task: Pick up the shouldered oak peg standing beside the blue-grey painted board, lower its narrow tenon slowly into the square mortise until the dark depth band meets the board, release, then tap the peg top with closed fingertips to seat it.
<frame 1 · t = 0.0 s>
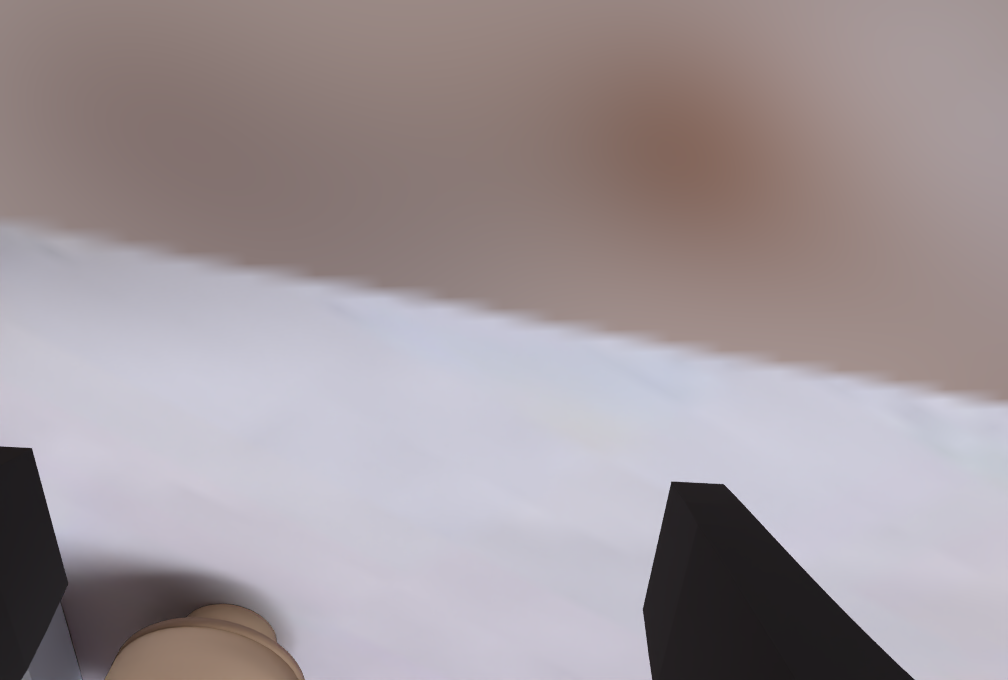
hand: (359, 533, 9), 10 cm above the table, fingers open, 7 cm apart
oak peg: (229, 637, 24), on the table
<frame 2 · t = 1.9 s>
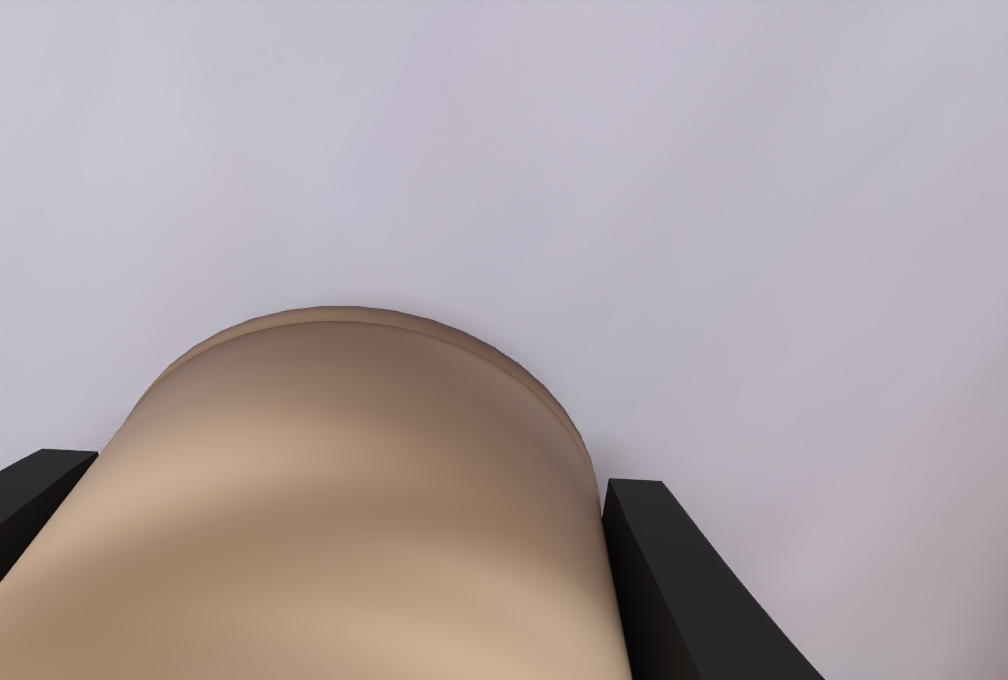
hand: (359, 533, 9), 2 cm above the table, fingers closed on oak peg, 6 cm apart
oak peg: (381, 437, 10), on the table, touching gripper
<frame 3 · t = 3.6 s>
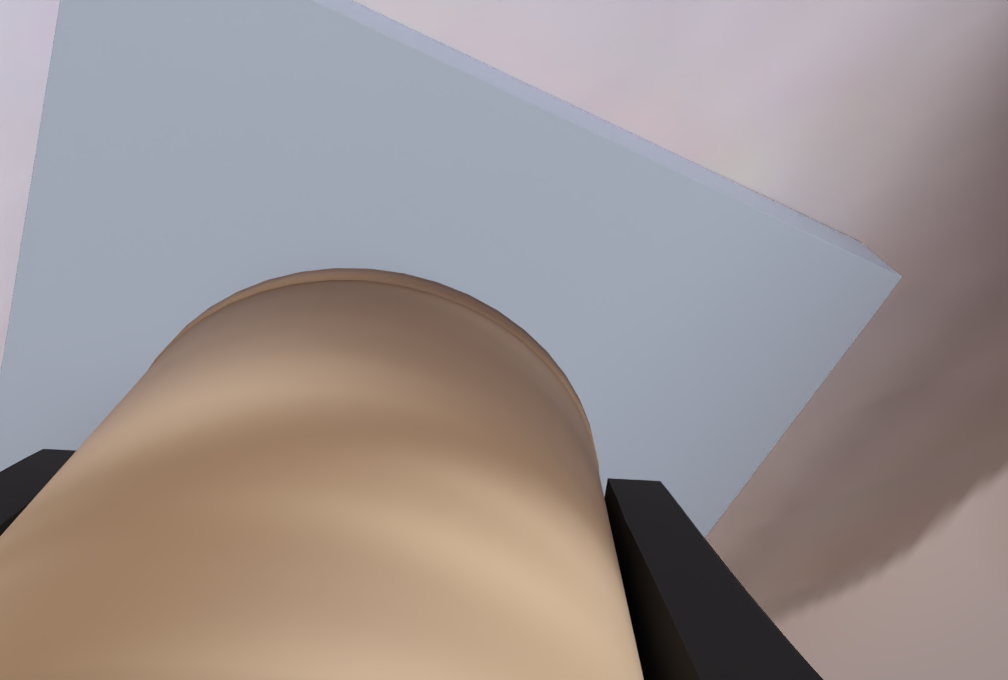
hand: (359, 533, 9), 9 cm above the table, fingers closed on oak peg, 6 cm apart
oak peg: (385, 412, 11), point 7 cm above the table, touching gripper
mortise board: (395, 395, 18), on the table
when the fingers open (3 cm above the table, at t = 5.5 s): oak peg stays where it is, resting on mortise board.
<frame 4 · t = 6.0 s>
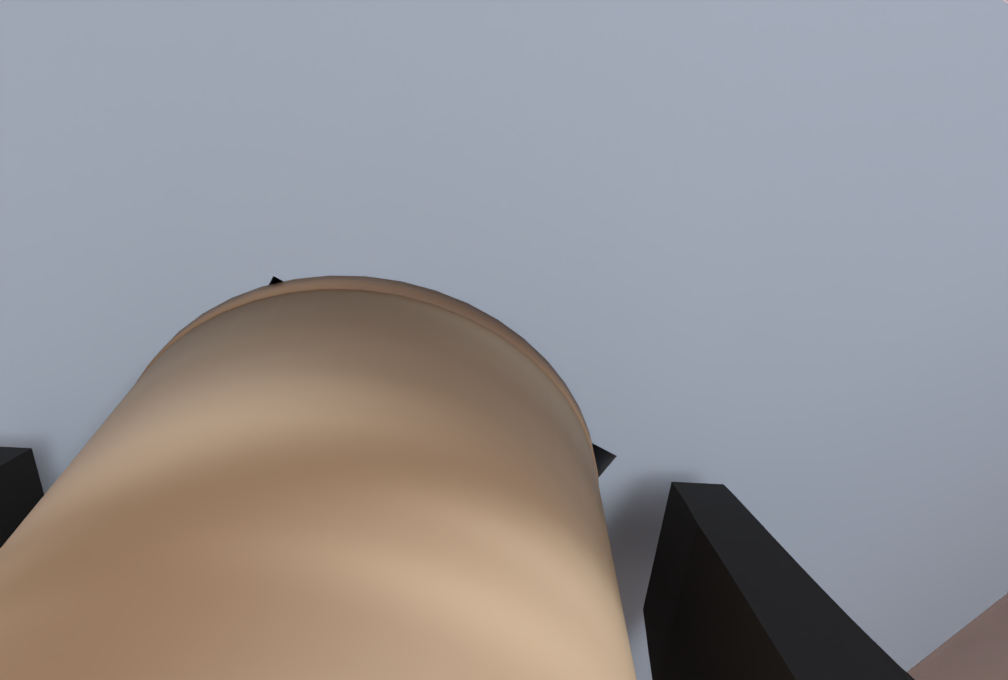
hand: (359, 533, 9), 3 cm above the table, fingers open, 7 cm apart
oak peg: (382, 412, 11), resting on mortise board
mortise board: (386, 414, 11), on the table
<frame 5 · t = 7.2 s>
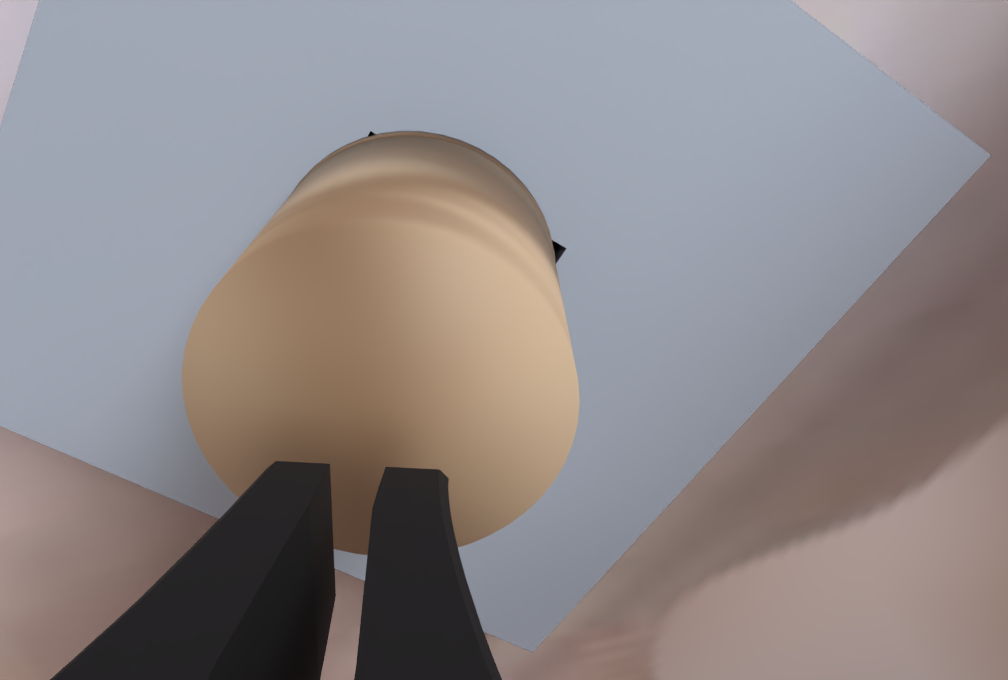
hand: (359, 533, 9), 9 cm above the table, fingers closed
oak peg: (423, 242, 17), resting on mortise board
mortise board: (425, 246, 17), on the table
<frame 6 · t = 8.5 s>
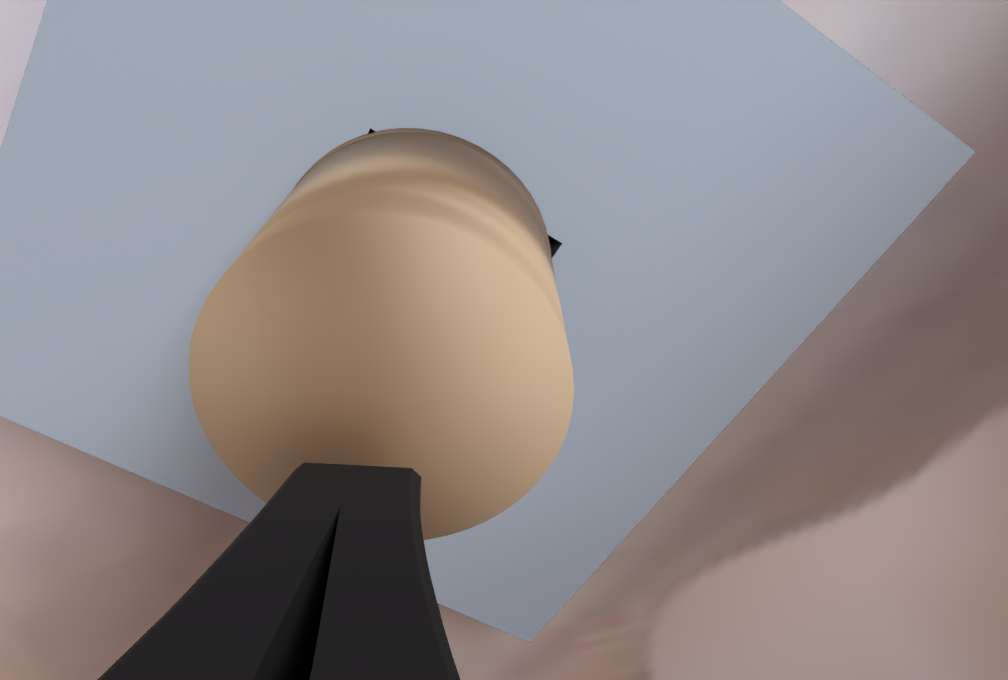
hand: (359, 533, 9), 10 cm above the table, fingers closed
oak peg: (421, 238, 17), resting on mortise board
mortise board: (423, 242, 17), on the table
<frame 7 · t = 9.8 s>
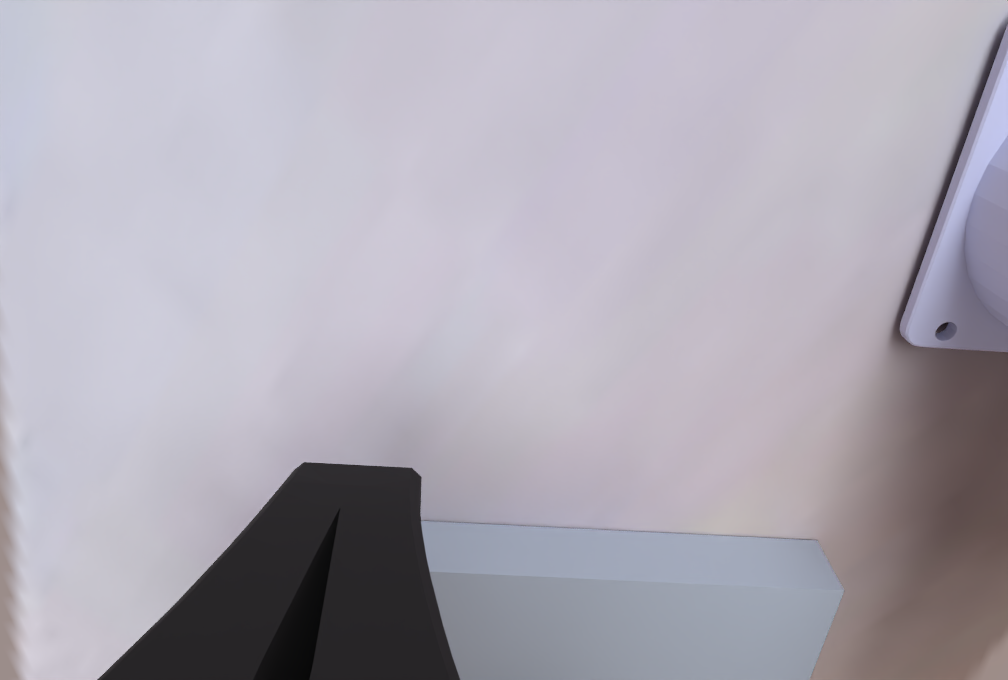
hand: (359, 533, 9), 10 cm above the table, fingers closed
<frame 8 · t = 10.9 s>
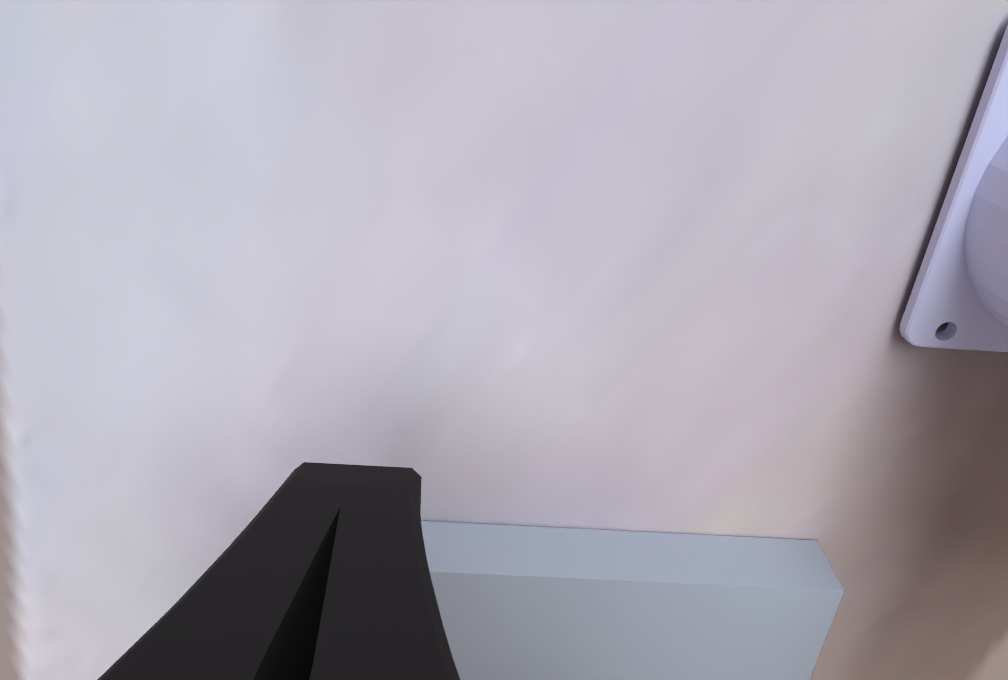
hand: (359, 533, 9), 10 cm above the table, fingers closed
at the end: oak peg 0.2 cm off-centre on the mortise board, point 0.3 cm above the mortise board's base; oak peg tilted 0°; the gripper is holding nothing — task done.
